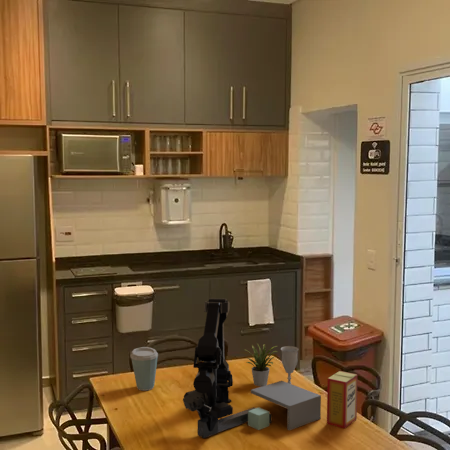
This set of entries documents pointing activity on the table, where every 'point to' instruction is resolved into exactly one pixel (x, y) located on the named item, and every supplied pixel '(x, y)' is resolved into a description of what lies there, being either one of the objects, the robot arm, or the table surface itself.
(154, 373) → the disposable coffee cup
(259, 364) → the house plant
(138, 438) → the table surface
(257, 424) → the block
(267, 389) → the cubby
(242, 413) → the dark grey hook tool
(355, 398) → the baking soda box
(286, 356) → the chalice
